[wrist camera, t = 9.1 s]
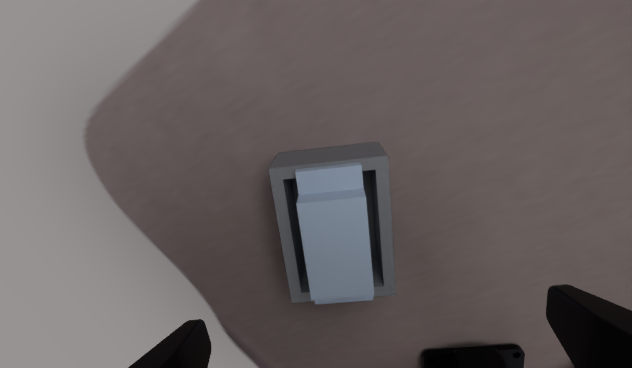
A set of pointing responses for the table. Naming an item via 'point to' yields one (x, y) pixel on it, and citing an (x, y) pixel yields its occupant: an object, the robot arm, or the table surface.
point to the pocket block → (377, 211)
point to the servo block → (335, 233)
